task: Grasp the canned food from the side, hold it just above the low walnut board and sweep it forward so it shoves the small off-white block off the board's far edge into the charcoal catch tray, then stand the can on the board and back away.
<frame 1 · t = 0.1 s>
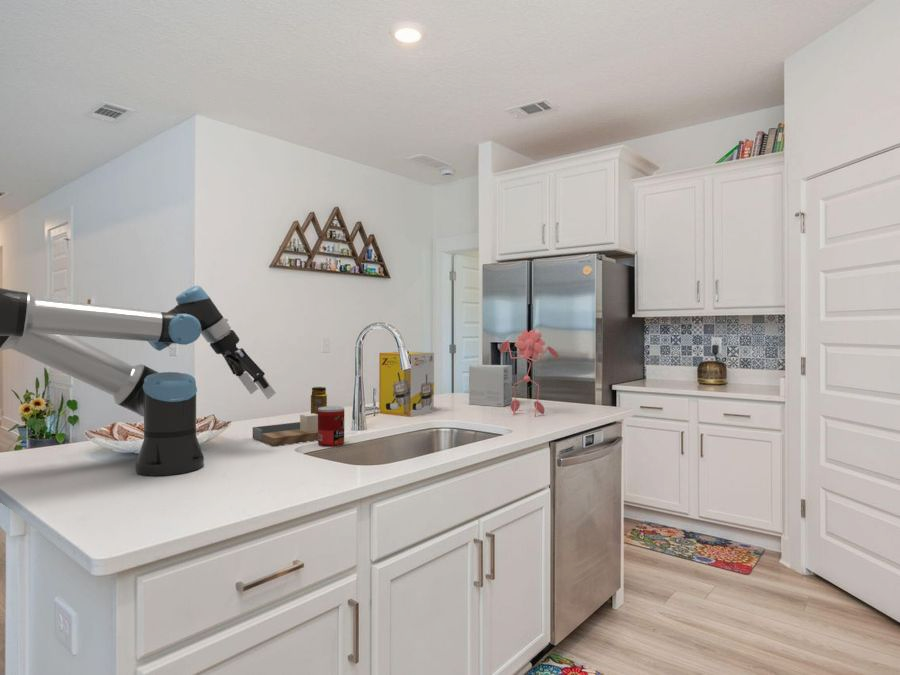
hand: (263, 393, 168), 15 cm above the worktop, tool tilted 35°, fingers open, 13 cm apart
canned food: (331, 444, 169), on the worktop
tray: (287, 436, 181), on the worktop
packaging box: (406, 413, 233), on the worktop
pink wire stick figure: (529, 414, 232), on the worktop
off-white block: (309, 430, 178), point 2 cm above the worktop, touching board
board: (298, 439, 175), on the worktop
supplement box: (490, 404, 261), on the worktop
condiment: (317, 419, 217), on the worktop
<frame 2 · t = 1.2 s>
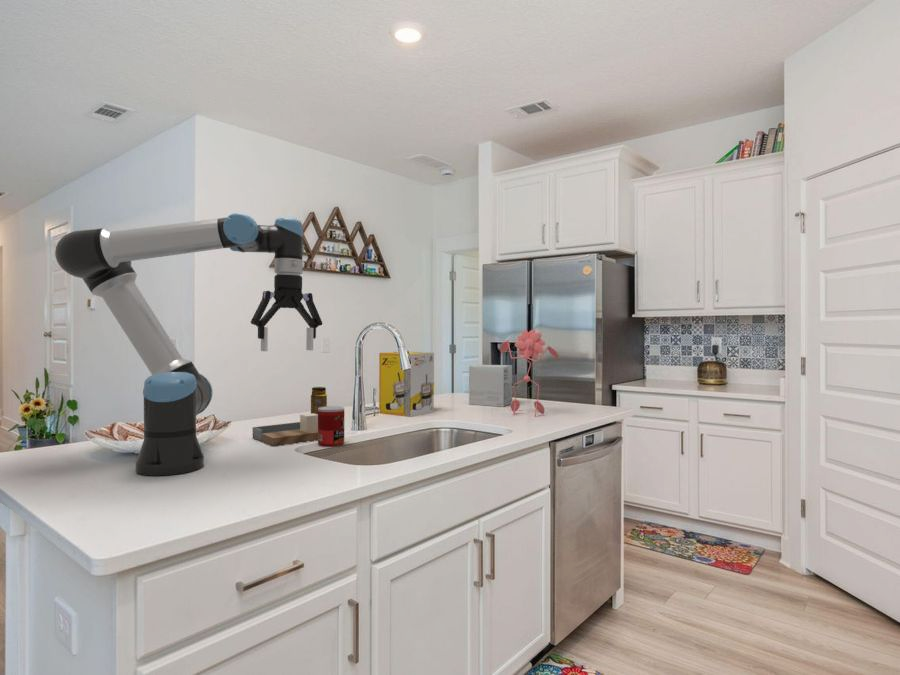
hand: (287, 350, 157), 29 cm above the worktop, tool pointing down, fingers open, 13 cm apart
nothing on the worktop moved.
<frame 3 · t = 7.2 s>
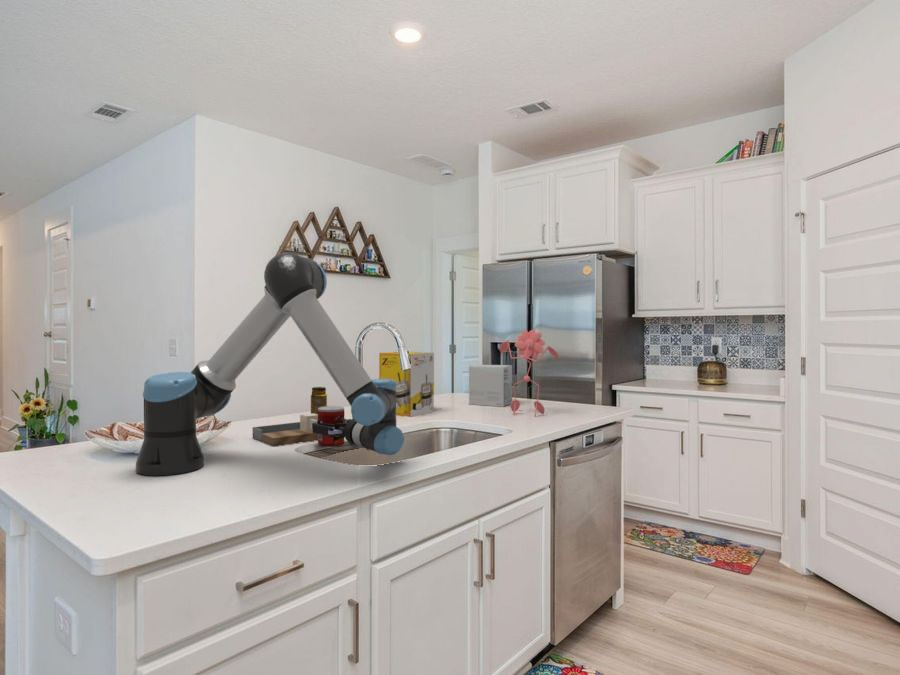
hand: (323, 422, 173), 6 cm above the worktop, tool horizontal, fingers closed on canned food, 8 cm apart
canned food: (331, 444, 169), on the worktop, touching gripper
everything else where it was.
when the fingers open (9 cm above the worktop, at t = 14.5 s): canned food stays where it is, resting on board.
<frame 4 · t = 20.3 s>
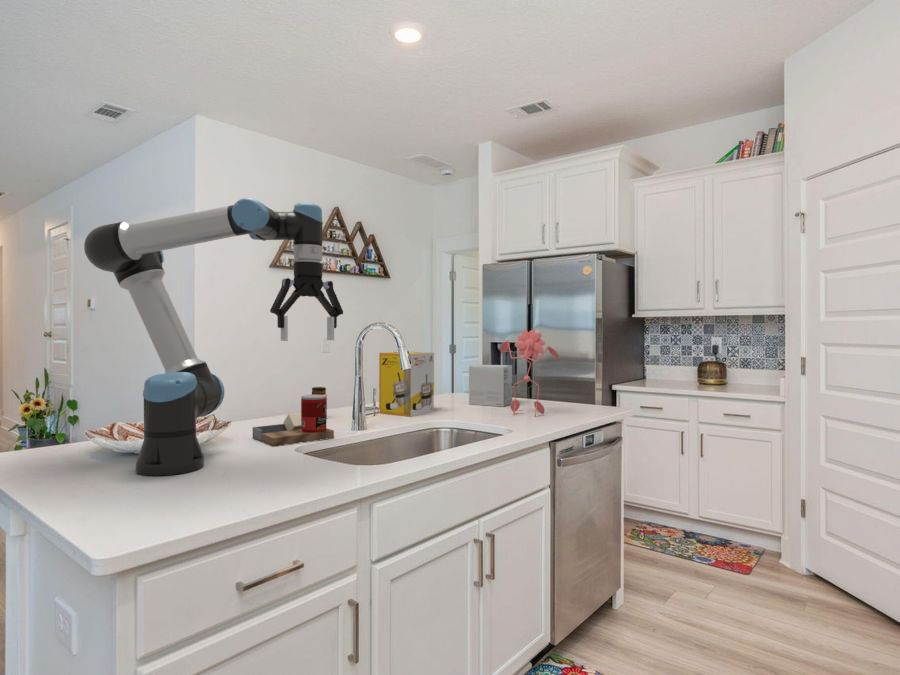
hand: (308, 340, 152), 32 cm above the worktop, tool pointing down, fingers open, 13 cm apart
canned food: (313, 431, 178), point 2 cm above the worktop, touching board
off-white block: (297, 429, 182), point 2 cm above the worktop, tilted 45°, touching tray
everything else where it was.
at the end: off-white block inside the target area on the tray (3.5 cm from its centre), point 2.1 cm above the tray's base; canned food touching board; canned food tilted 0° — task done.
